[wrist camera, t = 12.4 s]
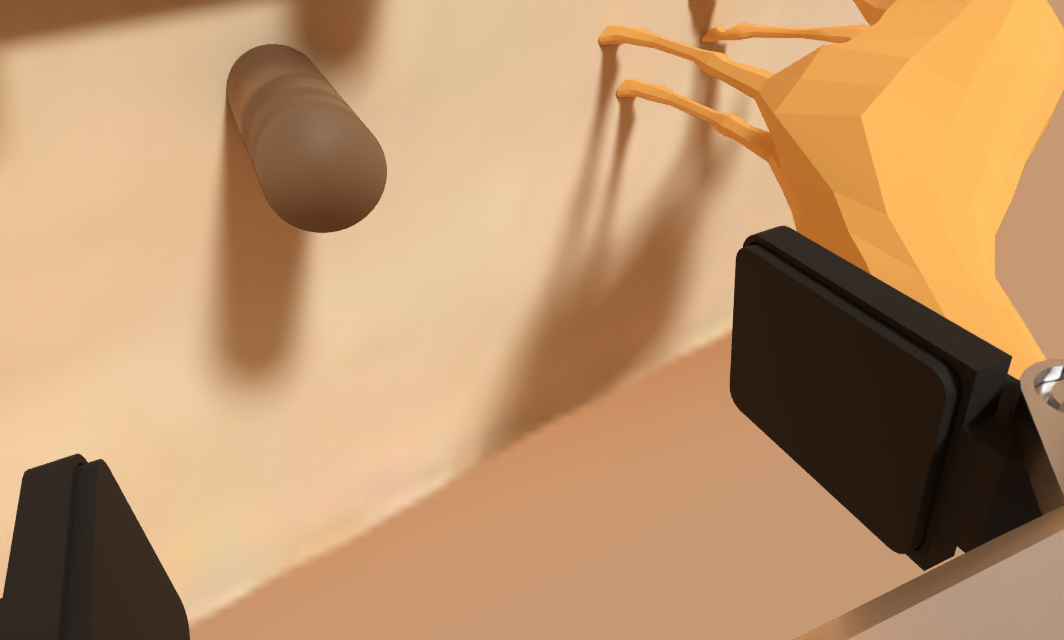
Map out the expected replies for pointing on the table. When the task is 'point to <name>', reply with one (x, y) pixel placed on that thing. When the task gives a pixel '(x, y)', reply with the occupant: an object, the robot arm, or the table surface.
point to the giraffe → (900, 140)
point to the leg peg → (304, 141)
